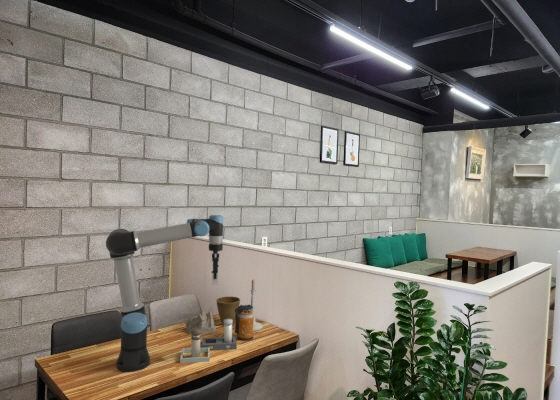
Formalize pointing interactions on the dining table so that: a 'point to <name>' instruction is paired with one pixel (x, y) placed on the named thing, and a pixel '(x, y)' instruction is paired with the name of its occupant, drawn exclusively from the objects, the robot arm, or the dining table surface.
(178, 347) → the dining table surface
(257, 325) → the candlestick
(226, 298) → the plant pot
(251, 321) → the canister
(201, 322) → the grey jagged lump
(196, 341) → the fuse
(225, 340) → the cylinder
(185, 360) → the parts tray
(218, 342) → the block
